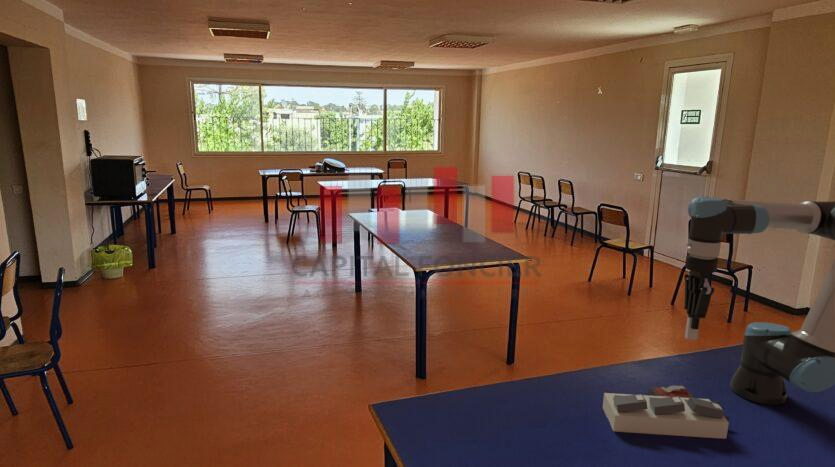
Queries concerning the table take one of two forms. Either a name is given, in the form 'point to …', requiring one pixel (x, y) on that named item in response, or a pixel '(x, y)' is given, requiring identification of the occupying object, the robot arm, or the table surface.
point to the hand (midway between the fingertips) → (690, 338)
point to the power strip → (664, 420)
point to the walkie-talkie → (672, 392)
